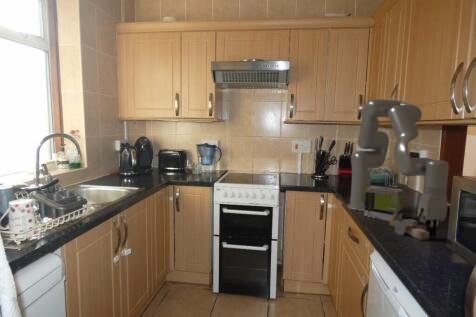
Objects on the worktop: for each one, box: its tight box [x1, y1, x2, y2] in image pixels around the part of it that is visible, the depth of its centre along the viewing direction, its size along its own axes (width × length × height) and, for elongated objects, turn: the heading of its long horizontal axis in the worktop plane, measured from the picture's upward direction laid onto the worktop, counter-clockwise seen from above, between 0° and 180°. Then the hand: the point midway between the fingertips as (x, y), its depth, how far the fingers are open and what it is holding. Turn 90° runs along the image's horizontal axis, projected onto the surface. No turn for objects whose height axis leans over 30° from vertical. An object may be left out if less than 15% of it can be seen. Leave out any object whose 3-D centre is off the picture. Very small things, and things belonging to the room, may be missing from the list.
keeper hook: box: [394, 218, 419, 236], centre depth 121 cm, size 3×8×6 cm, turn 93°
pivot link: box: [388, 213, 430, 241], centre depth 124 cm, size 18×5×6 cm, turn 12°
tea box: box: [363, 185, 405, 222], centre depth 142 cm, size 15×10×15 cm
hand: (430, 235), depth 117 cm, fingers closed
